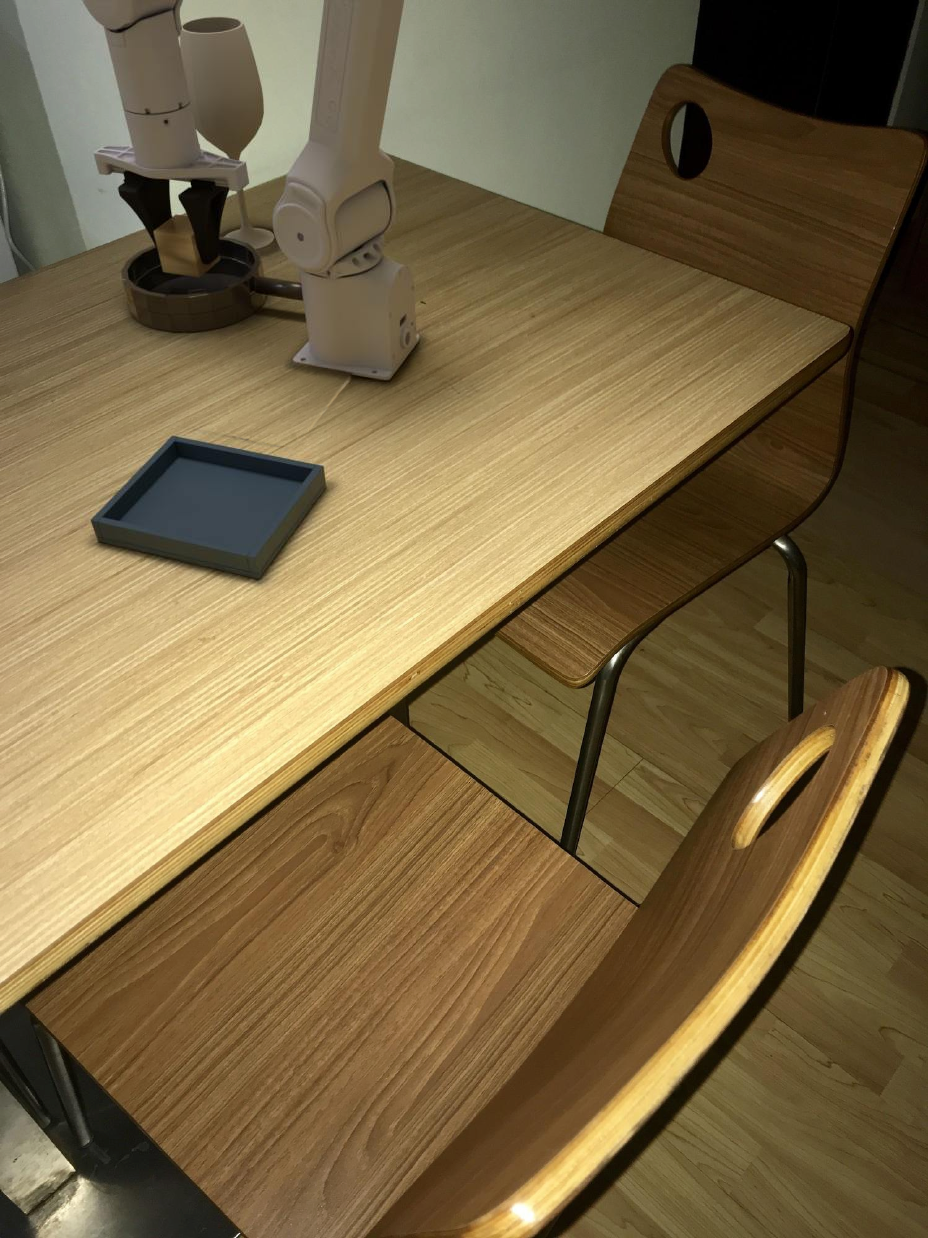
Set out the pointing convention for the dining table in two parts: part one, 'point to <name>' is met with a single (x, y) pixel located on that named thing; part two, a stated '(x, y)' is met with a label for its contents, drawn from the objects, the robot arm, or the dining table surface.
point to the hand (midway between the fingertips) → (190, 256)
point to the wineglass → (225, 96)
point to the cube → (180, 248)
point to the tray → (211, 506)
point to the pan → (194, 290)
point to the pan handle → (277, 288)
